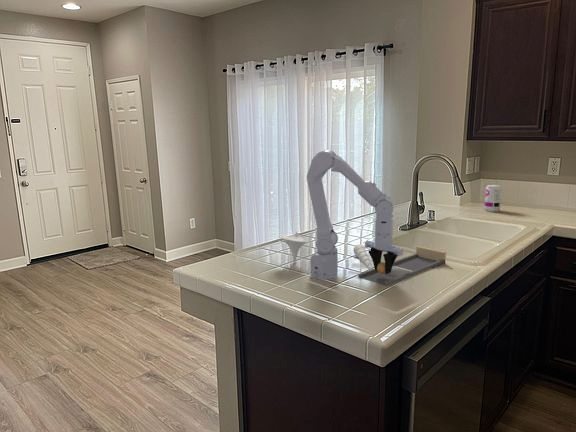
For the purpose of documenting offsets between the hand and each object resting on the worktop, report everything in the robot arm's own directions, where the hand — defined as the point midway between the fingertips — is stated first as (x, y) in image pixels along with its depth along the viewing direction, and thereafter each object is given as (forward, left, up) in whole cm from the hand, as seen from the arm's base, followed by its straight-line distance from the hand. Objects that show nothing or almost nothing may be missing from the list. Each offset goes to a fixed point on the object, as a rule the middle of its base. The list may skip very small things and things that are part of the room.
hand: (382, 271), depth 151 cm
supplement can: (+138, +27, -3) cm, 141 cm away
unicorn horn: (+10, +16, -3) cm, 19 cm away
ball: (0, 0, -1) cm, 1 cm away
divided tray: (+12, 0, -6) cm, 14 cm away
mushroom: (-9, +36, -3) cm, 37 cm away
